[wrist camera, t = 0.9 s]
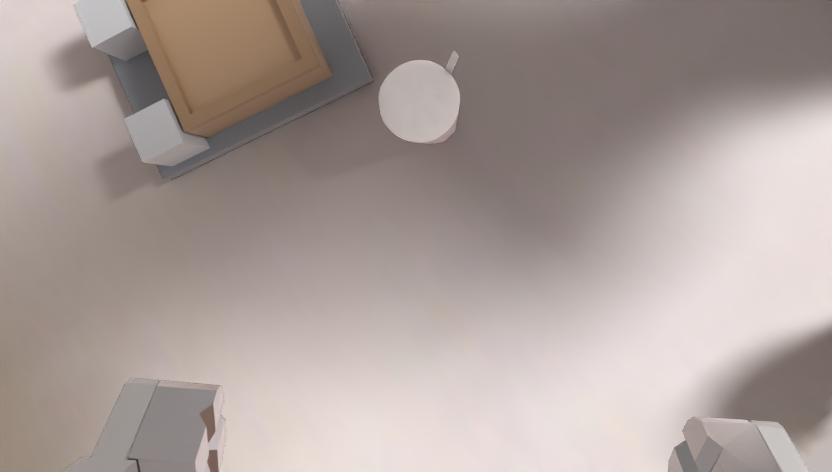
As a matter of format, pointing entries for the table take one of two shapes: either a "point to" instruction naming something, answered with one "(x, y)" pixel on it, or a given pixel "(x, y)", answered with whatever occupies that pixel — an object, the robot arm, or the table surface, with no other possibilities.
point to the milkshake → (421, 101)
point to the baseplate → (221, 69)
